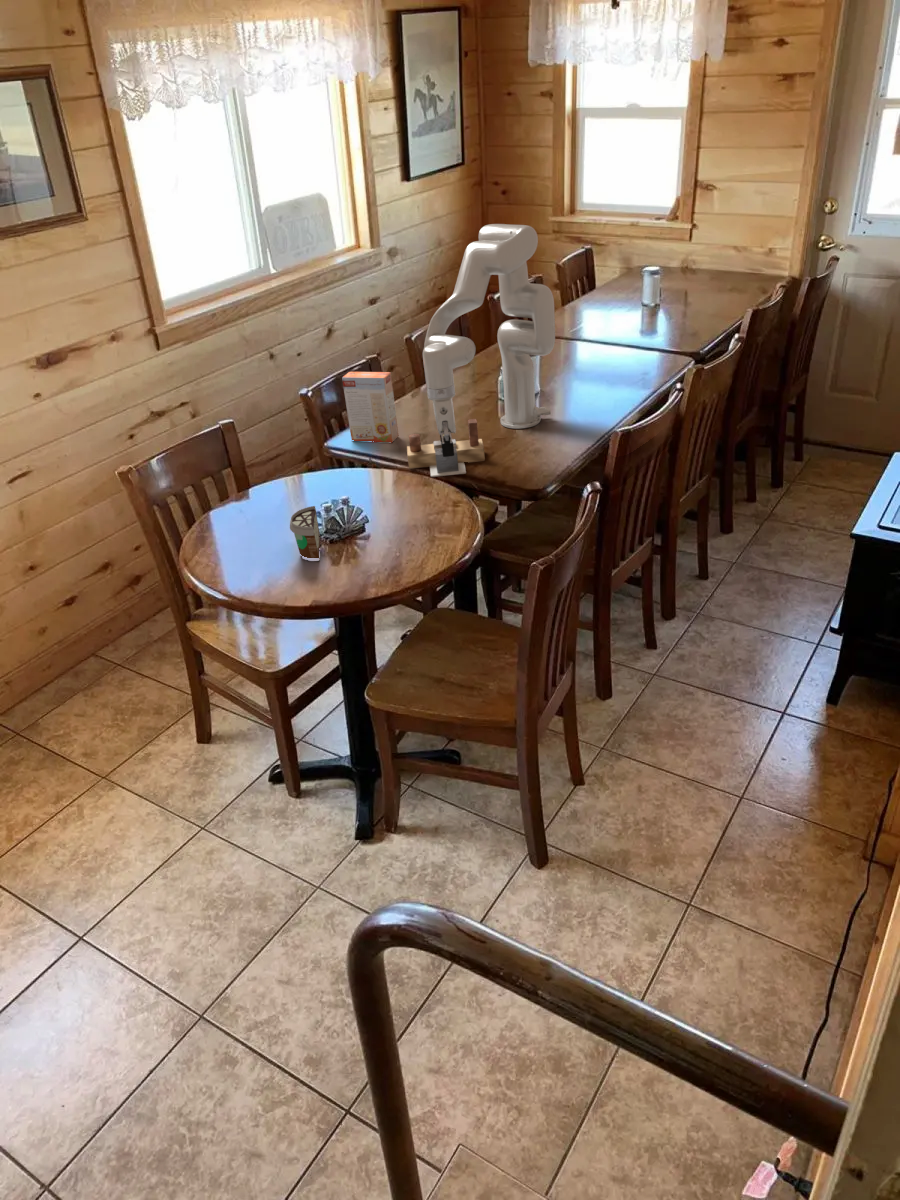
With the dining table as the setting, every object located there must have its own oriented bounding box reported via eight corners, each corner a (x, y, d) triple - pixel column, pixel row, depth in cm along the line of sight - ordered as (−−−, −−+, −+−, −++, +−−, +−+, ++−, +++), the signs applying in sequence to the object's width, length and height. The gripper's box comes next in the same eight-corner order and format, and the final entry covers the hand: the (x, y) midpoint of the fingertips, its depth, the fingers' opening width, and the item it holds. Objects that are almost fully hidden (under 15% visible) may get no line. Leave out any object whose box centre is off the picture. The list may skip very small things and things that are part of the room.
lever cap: (457, 464, 258) (455, 443, 254) (458, 470, 254) (456, 449, 250) (436, 466, 258) (434, 445, 254) (437, 473, 254) (435, 451, 250)
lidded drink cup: (297, 543, 225) (290, 507, 220) (321, 540, 226) (315, 504, 220) (294, 567, 215) (286, 530, 210) (319, 564, 215) (312, 527, 210)
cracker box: (399, 436, 281) (391, 371, 270) (392, 444, 276) (384, 377, 265) (358, 434, 285) (349, 370, 274) (351, 442, 281) (341, 376, 270)
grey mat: (464, 463, 259) (464, 462, 259) (466, 473, 253) (466, 472, 253) (429, 467, 259) (429, 465, 259) (430, 477, 253) (430, 475, 253)
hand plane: (482, 451, 265) (480, 415, 259) (484, 460, 259) (482, 424, 254) (408, 459, 265) (404, 423, 259) (409, 468, 259) (404, 432, 253)
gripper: (456, 400, 236) (463, 460, 246) (452, 378, 251) (458, 435, 260) (428, 404, 236) (435, 463, 246) (425, 381, 251) (432, 438, 260)
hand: (447, 448), depth 253 cm, fingers open, 9 cm apart
